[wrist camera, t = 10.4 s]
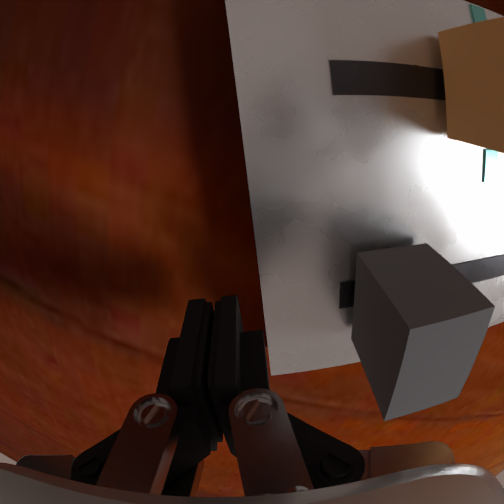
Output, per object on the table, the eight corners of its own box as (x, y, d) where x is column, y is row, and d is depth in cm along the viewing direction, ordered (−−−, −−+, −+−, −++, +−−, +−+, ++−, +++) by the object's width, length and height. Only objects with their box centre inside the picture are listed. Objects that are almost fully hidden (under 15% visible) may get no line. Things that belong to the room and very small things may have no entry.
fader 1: (426, 243, 11) (495, 305, 7) (413, 325, 12) (457, 397, 8) (356, 252, 11) (410, 329, 7) (351, 338, 12) (384, 420, 8)
